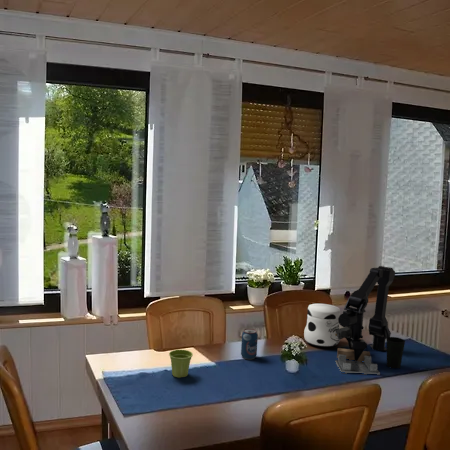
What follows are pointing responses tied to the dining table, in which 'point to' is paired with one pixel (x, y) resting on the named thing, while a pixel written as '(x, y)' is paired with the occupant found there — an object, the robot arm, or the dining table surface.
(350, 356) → the rail
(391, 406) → the dining table surface
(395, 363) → the cup
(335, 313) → the milk container
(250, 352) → the soda can
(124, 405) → the dining table surface
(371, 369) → the brackets
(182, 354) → the plant pot
